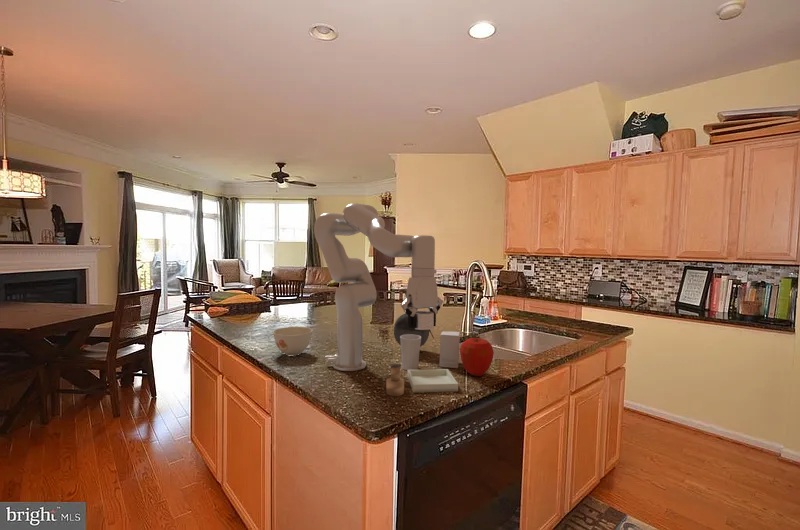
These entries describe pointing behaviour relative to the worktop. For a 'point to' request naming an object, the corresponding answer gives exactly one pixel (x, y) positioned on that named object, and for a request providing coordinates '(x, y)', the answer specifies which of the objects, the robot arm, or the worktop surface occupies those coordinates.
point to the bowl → (292, 339)
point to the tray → (432, 380)
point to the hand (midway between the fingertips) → (422, 326)
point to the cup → (410, 351)
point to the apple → (476, 355)
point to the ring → (424, 320)
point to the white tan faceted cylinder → (395, 381)
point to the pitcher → (403, 328)
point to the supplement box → (449, 349)
